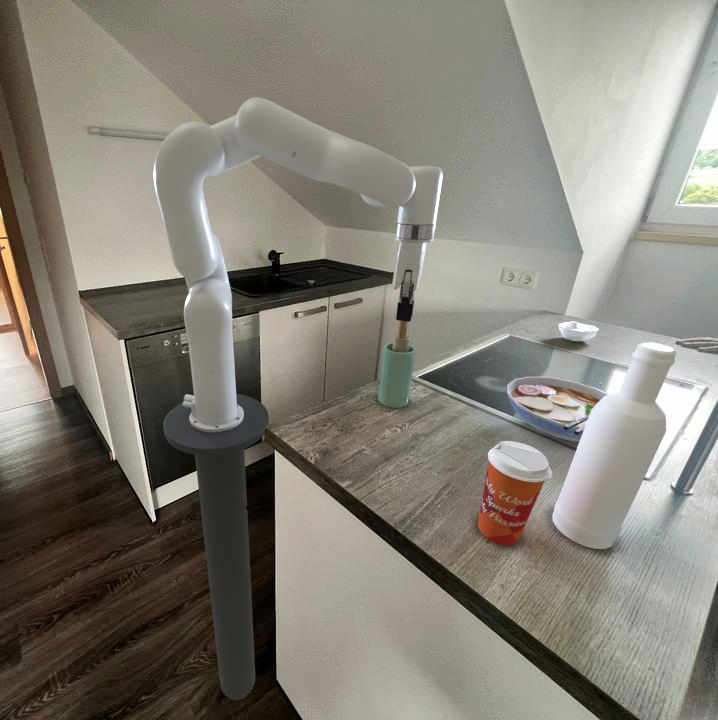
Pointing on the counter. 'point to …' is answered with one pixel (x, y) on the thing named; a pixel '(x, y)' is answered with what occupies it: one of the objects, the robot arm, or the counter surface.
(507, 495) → the paper cup
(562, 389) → the ramen bowl
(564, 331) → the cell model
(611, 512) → the bottle
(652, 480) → the counter surface
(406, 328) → the brush
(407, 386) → the cylindrical holder
